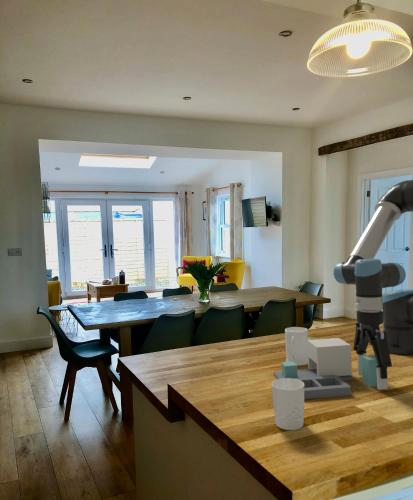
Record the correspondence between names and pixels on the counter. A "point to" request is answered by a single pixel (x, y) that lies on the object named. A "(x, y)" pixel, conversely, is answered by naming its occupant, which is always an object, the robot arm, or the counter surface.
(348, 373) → the cover
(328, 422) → the counter surface
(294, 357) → the mug
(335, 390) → the socket board
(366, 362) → the peg
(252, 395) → the counter surface
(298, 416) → the white cup
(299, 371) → the board
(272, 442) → the counter surface
